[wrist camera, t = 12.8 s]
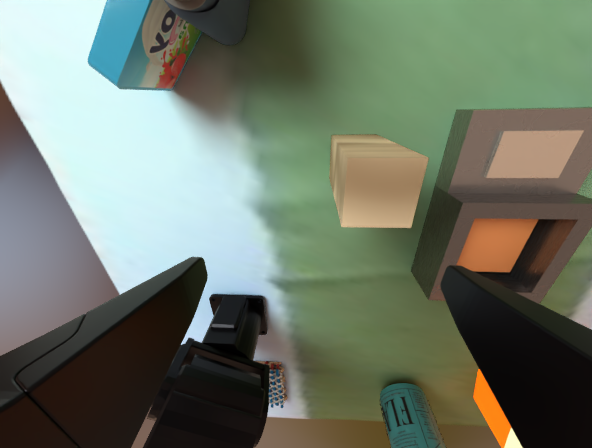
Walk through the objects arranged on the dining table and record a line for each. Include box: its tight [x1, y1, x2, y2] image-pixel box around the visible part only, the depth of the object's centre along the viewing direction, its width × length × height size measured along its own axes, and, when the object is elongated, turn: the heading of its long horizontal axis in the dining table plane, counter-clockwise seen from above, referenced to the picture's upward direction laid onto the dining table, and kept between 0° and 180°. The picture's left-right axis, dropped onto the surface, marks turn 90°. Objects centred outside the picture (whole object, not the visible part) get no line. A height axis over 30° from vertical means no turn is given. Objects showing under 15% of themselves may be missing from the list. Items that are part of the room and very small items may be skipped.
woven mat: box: [256, 361, 287, 408], centre depth 35 cm, size 10×11×2 cm
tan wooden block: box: [329, 134, 429, 228], centre depth 15 cm, size 4×4×9 cm
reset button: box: [457, 218, 539, 272], centre depth 20 cm, size 6×6×2 cm
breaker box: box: [411, 107, 592, 303], centre depth 18 cm, size 15×9×4 cm, turn 1°
